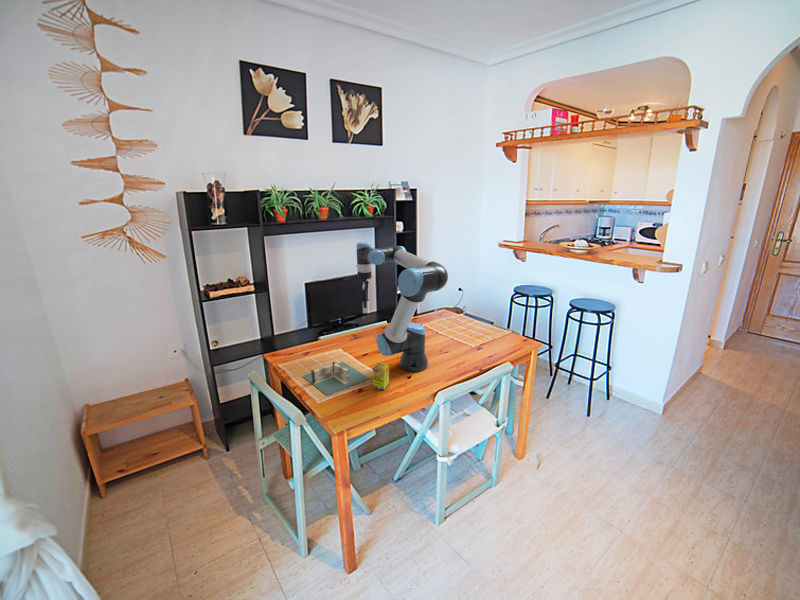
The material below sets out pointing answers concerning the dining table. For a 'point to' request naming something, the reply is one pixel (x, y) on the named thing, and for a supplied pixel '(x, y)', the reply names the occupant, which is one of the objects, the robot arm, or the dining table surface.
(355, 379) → the board
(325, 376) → the fixed rail
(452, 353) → the dining table surface
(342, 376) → the hinged gate
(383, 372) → the supplement box
